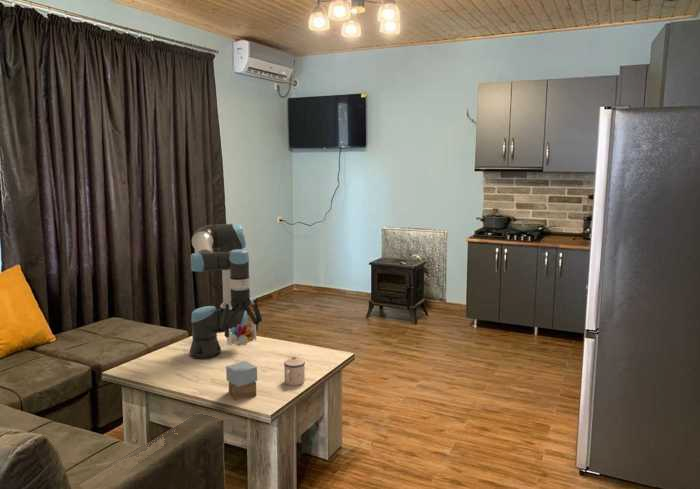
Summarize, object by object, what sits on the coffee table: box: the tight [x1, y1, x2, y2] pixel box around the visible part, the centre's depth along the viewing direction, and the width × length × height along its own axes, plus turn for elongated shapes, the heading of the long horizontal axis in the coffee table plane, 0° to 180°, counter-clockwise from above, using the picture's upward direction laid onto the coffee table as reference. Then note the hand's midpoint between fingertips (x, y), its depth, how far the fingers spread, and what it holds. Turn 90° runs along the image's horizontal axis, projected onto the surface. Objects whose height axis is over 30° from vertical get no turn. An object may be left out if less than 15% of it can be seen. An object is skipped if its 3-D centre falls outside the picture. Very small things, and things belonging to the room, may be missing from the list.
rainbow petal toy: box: [231, 324, 253, 346], centre depth 219 cm, size 8×10×7 cm
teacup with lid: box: [283, 355, 306, 386], centre depth 233 cm, size 12×9×12 cm
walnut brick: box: [228, 381, 257, 401], centre depth 222 cm, size 9×9×6 cm
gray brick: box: [225, 360, 258, 387], centre depth 221 cm, size 9×9×6 cm
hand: (241, 341), depth 219 cm, fingers closed on rainbow petal toy, 10 cm apart
